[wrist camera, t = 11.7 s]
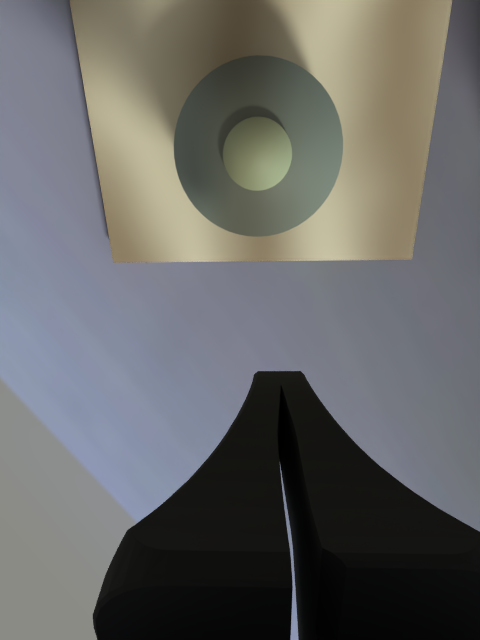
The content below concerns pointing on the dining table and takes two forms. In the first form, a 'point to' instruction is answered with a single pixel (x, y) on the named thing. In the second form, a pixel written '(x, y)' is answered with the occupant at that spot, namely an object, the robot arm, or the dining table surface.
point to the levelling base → (295, 30)
